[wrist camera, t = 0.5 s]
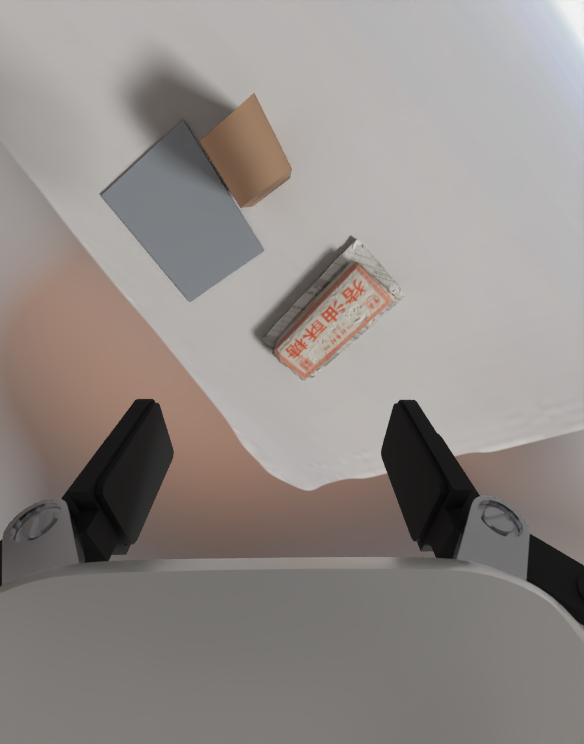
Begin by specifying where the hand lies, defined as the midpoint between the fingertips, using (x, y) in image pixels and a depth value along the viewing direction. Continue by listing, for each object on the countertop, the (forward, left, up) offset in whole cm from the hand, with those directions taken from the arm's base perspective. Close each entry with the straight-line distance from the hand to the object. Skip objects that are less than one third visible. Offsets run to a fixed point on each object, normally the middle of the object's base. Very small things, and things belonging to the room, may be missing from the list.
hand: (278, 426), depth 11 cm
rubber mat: (+6, -11, -28) cm, 31 cm away
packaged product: (-3, +8, -29) cm, 30 cm away
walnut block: (-4, -11, -28) cm, 30 cm away
